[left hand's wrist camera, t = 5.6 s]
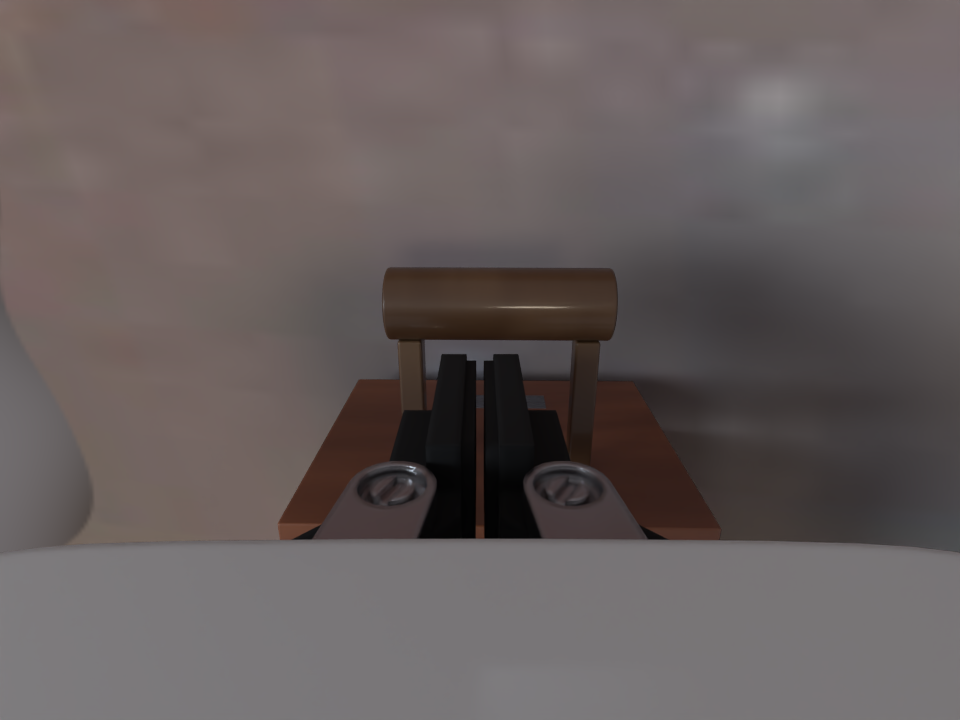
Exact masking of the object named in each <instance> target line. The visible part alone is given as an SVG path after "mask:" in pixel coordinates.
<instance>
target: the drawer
mask: <svg viewBox="0 0 960 720" xmlns="http://www.w3.org/2000/svg"><path fill="white" fill-rule="evenodd" d="M617 309H618V292H617V282H616V277H615V274H614V272H613V270H612V269H610V268H414V267H390V268H388V269H387V270H386V273H385V276H384V281H383V291H382V311H383V322H384V328H385V332H386V335H387V337H388V338H389V339H399V341H398V359H399V377H400V380H365V379H360V380H358V382H357V384H356V386H355V387H354V389H353V391H352V393H351V394H350V396H349V398H348V400H347V402H346V403H345V405H344V407H343V409H342V410H341V412H340V414H339V416H338V418H337V419H336V421H335V423H334V425H333V426H332V428H331V430H330V432H329V434H328V435H327V437H326V439H325V441H324V442H323V444H322V446H321V448H320V450H319V451H318V453H317V455H316V457H315V458H314V460H313V462H312V464H311V465H310V467H309V469H308V471H307V473H306V474H305V476H304V478H303V480H302V481H301V483H300V485H299V487H298V489H297V490H296V492H295V494H294V496H293V497H292V499H291V501H290V503H289V505H288V506H287V508H286V510H285V512H284V513H283V515H282V517H281V519H280V521H279V522H278V529H279V536H280V540H292V539H294V538H296V537H297V536H299V535H301V534H303V533H305V532H307V531H309V530H311V529H313V528H315V527H317V526H319V525H321V524H322V523H323V521H324V520H325V518H326V517H327V515H328V514H329V512H330V511H331V509H332V508H333V506H334V504H335V503H336V501H337V500H338V498H339V497H340V495H341V494H342V492H343V491H344V489H345V487H346V486H347V484H348V483H349V481H350V480H351V479H352V478H353V477H354V476H355V475H356V474H357V473H358V472H360V471H362V470H363V469H365V468H367V467H370V466H372V465H375V464H378V463H383V462H389V460H390V457H391V453H392V450H393V446H394V443H395V439H396V436H397V432H398V429H399V425H400V422H401V418H402V415H403V412H404V410H432V406H433V401H434V395H435V390H436V384H437V380H426V368H425V342H424V340H573V342H572V358H571V373H570V381H523V384H524V390H525V395H526V401H527V406H528V410H556V412H557V415H558V418H559V422H560V425H561V429H562V432H563V436H564V439H565V443H566V446H567V450H568V453H569V457H570V460H571V462H577V463H582V464H585V465H588V466H590V467H593V468H595V469H597V470H598V471H600V472H602V473H603V474H604V475H605V476H606V477H607V478H608V479H609V480H610V481H611V483H612V484H613V486H614V487H615V489H616V491H617V492H618V494H619V495H620V497H621V498H622V500H623V501H624V503H625V504H626V506H627V508H628V509H629V511H630V512H631V514H632V515H633V517H634V518H635V520H636V521H637V523H638V524H639V525H641V526H643V527H645V528H647V529H649V530H651V531H653V532H655V533H657V534H659V535H661V536H663V537H664V538H666V539H668V540H719V539H720V534H721V528H720V526H719V524H718V523H717V521H716V519H715V518H714V516H713V514H712V513H711V511H710V509H709V508H708V506H707V504H706V503H705V501H704V499H703V498H702V496H701V494H700V493H699V491H698V489H697V488H696V486H695V484H694V483H693V481H692V479H691V478H690V476H689V474H688V473H687V471H686V469H685V468H684V466H683V464H682V463H681V461H680V459H679V458H678V456H677V454H676V453H675V451H674V449H673V448H672V446H671V444H670V443H669V441H668V439H667V438H666V436H665V434H664V433H663V431H662V429H661V428H660V426H659V424H658V423H657V421H656V419H655V418H654V416H653V414H652V413H651V411H650V409H649V408H648V406H647V404H646V403H645V401H644V399H643V398H642V396H641V394H640V393H639V391H638V389H637V388H636V386H635V384H634V383H633V382H632V381H597V378H598V366H599V354H600V343H599V341H608V340H610V339H611V338H612V336H613V333H614V330H615V326H616V319H617ZM476 539H484V380H476Z"/></svg>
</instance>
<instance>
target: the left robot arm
mask: <svg viewBox="0 0 960 720" xmlns="http://www.w3.org/2000/svg"><path fill="white" fill-rule="evenodd" d="M0 720H960V553H959V552H953V551H946V550H937V549H929V548H920V547H910V546H894V545H878V544H862V543H828V542H791V541H744V540H668V539H666V538H664V537H663V536H661V535H659V534H657V533H655V532H653V531H651V530H649V529H647V528H645V527H643V526H641V525H639V524H638V523H637V521H636V520H635V518H634V517H633V515H632V514H631V512H630V511H629V509H628V508H627V506H626V504H625V503H624V501H623V500H622V498H621V497H620V495H619V494H618V492H617V491H616V489H615V487H614V486H613V484H612V483H611V481H610V480H609V479H608V478H607V477H606V476H605V475H604V474H603V473H602V472H600V471H598V470H597V469H595V468H593V467H590V466H588V465H585V464H582V463H577V462H571V460H570V457H569V453H568V450H567V446H566V443H565V439H564V436H563V432H562V429H561V425H560V422H559V418H558V415H557V412H556V410H528V406H527V401H526V395H525V390H524V384H523V379H522V373H521V367H520V362H519V356H518V354H494V356H493V361H484V539H476V361H467V356H466V354H442V356H441V362H440V367H439V373H438V379H437V384H436V390H435V395H434V401H433V406H432V410H404V412H403V415H402V418H401V422H400V425H399V429H398V432H397V436H396V439H395V443H394V446H393V450H392V453H391V457H390V460H389V462H383V463H378V464H375V465H372V466H370V467H367V468H365V469H363V470H362V471H360V472H358V473H357V474H356V475H355V476H354V477H353V478H352V479H351V480H350V481H349V483H348V484H347V486H346V487H345V489H344V491H343V492H342V494H341V495H340V497H339V498H338V500H337V501H336V503H335V504H334V506H333V508H332V509H331V511H330V512H329V514H328V515H327V517H326V518H325V520H324V521H323V523H322V524H321V525H319V526H317V527H315V528H313V529H311V530H309V531H307V532H305V533H303V534H301V535H299V536H297V537H296V538H294V539H292V540H229V541H165V542H132V543H100V544H80V545H66V546H52V547H39V548H31V549H23V550H16V551H9V552H1V553H0Z"/></svg>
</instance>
